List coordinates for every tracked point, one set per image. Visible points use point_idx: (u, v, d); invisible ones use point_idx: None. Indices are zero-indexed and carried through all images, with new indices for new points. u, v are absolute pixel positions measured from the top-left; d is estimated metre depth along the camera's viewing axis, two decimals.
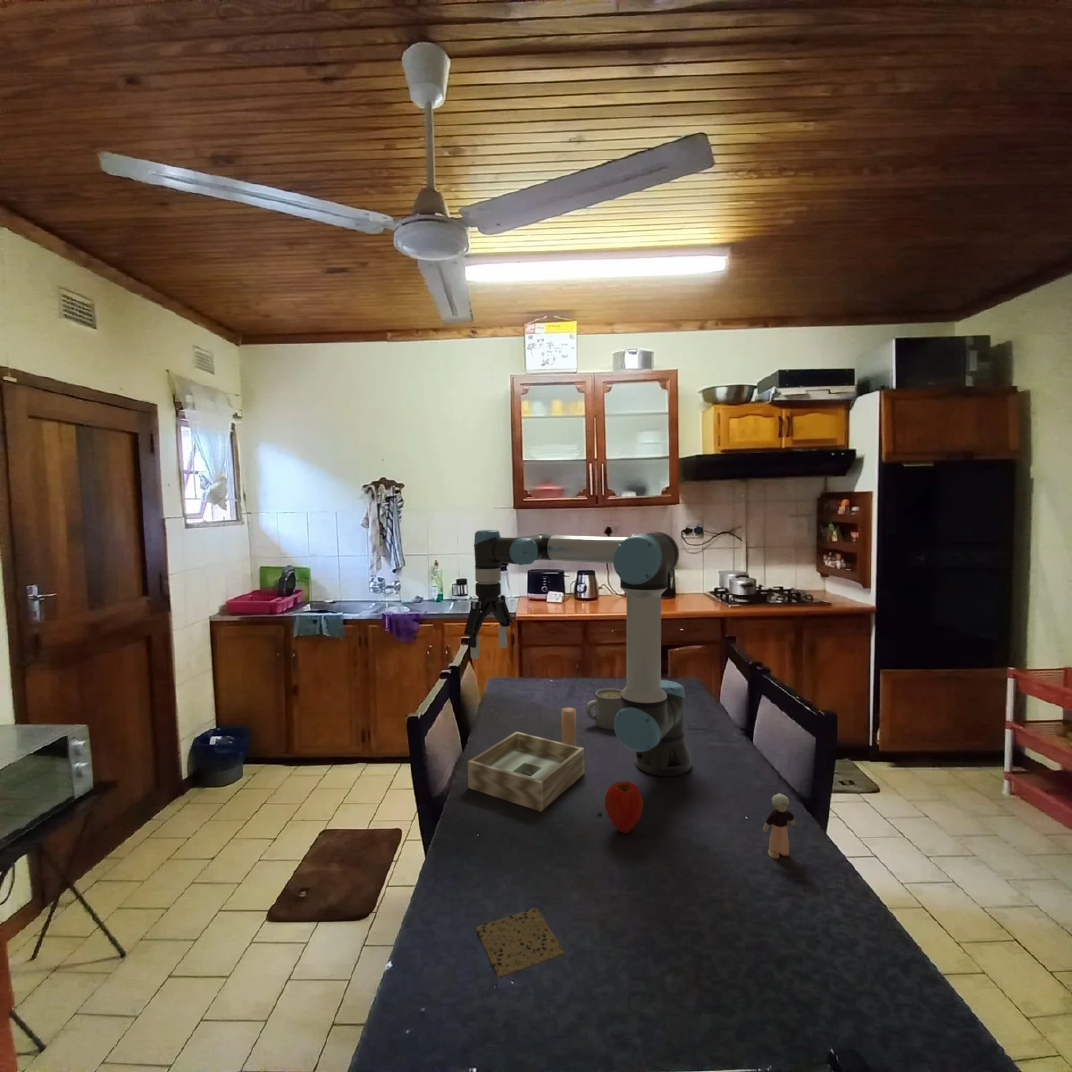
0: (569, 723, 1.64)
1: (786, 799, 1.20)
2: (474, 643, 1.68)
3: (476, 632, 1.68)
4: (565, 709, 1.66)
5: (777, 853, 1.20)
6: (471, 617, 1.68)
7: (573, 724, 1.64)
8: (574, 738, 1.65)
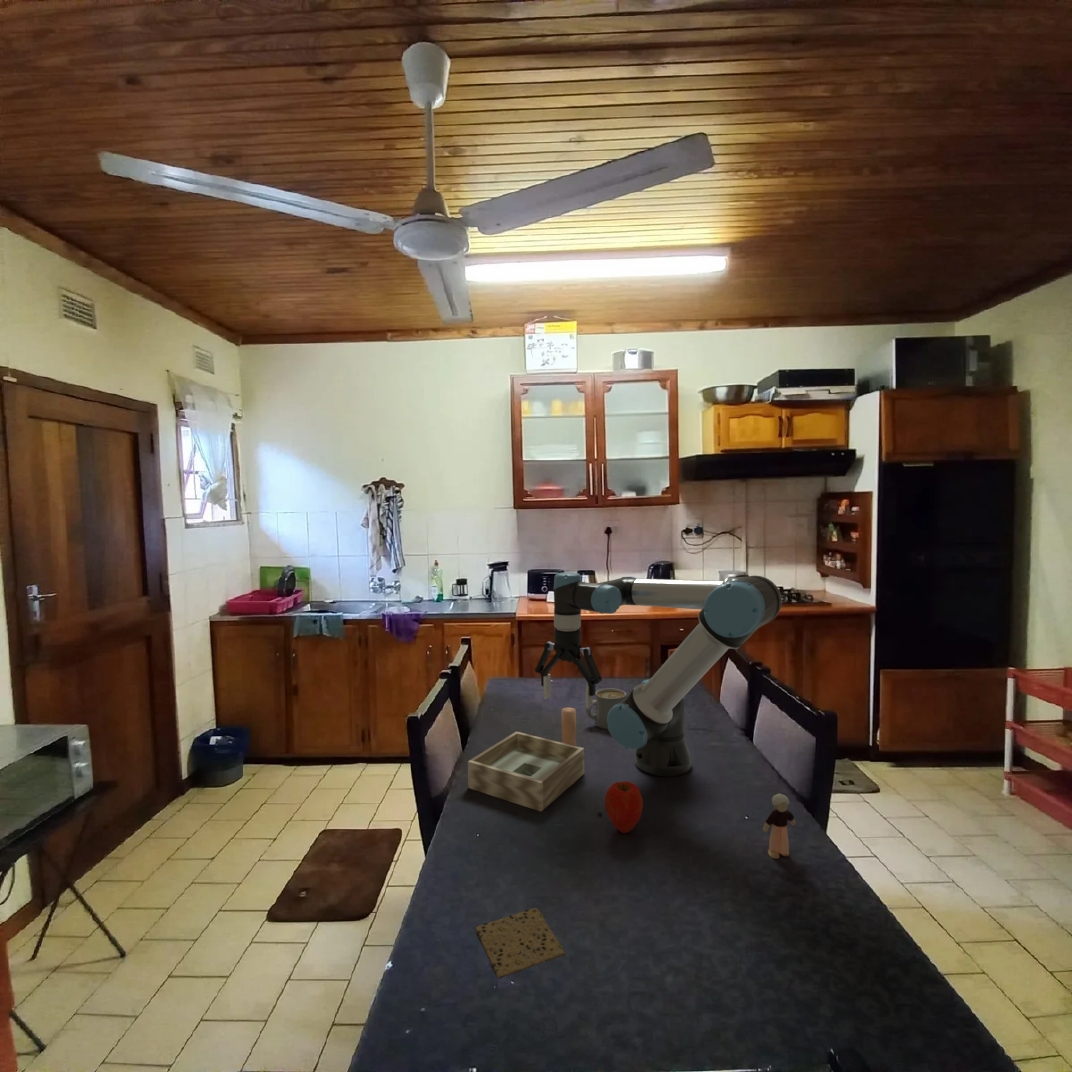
0: (569, 723, 1.64)
1: (786, 799, 1.20)
2: (542, 682, 1.69)
3: (543, 672, 1.68)
4: (565, 709, 1.66)
5: (777, 853, 1.20)
6: None
7: (573, 724, 1.64)
8: (574, 738, 1.65)
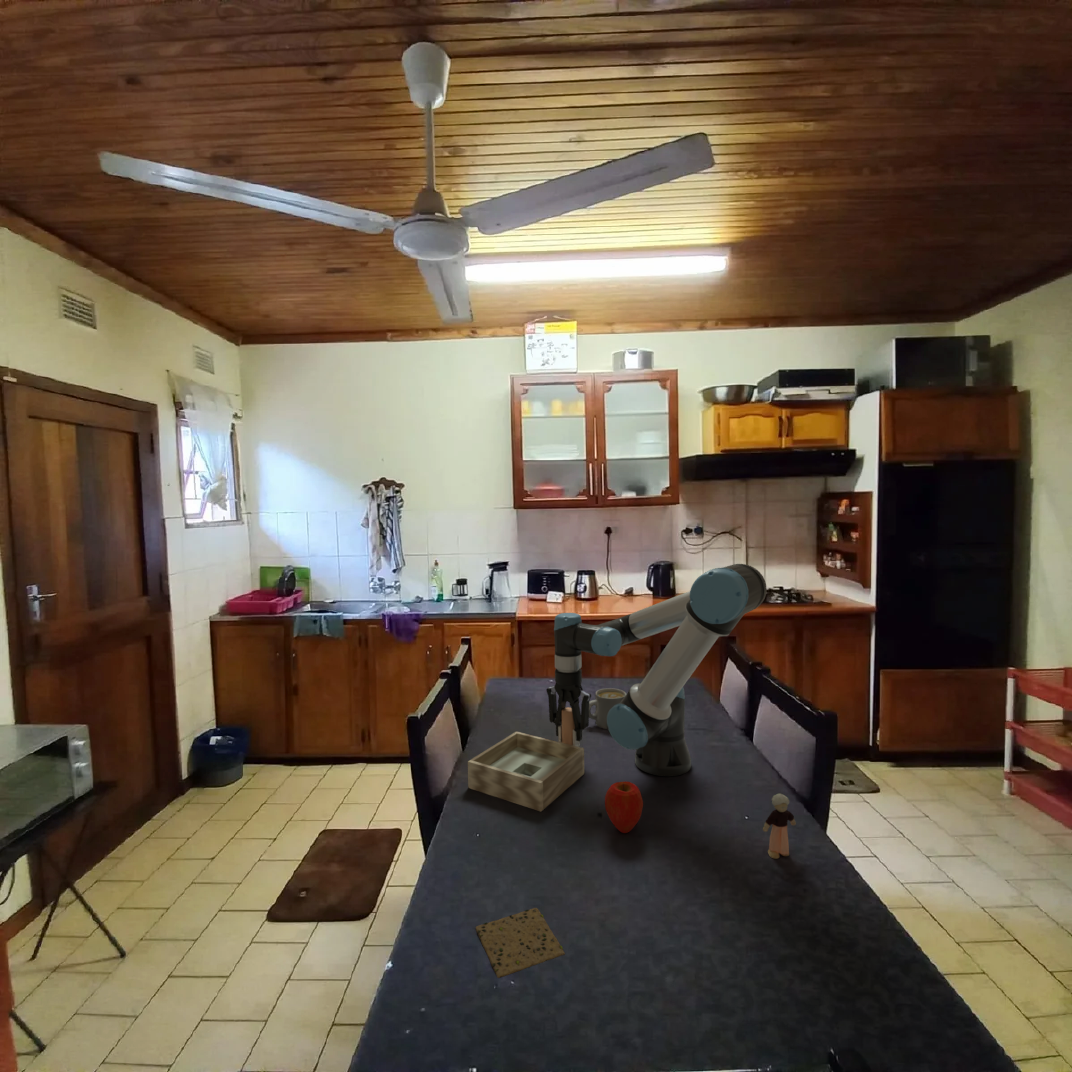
0: (569, 723, 1.64)
1: (786, 799, 1.20)
2: (557, 732, 1.67)
3: (556, 721, 1.67)
4: (565, 709, 1.66)
5: (777, 853, 1.20)
6: None
7: (573, 724, 1.64)
8: None
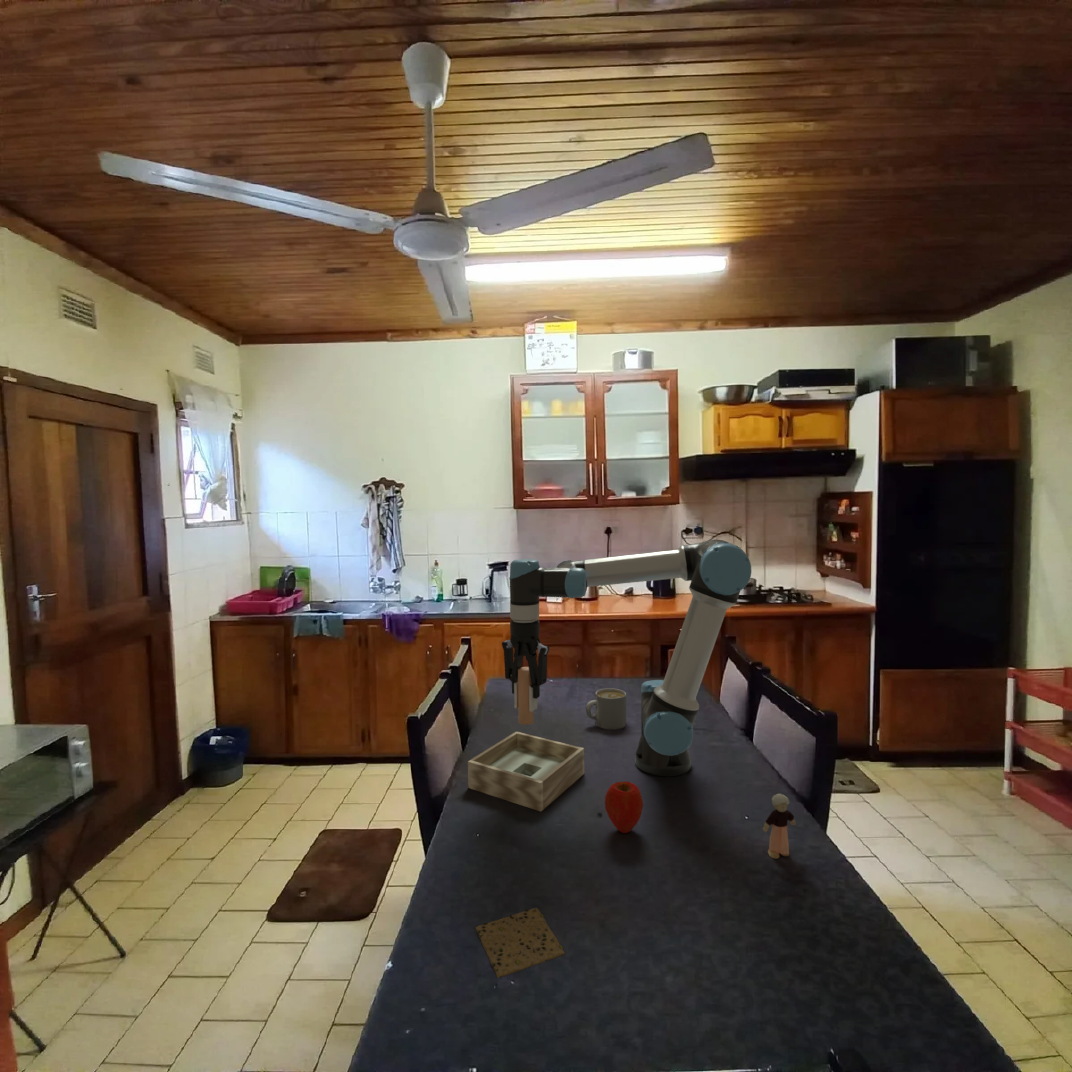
0: (526, 683, 1.50)
1: (786, 799, 1.20)
2: (513, 689, 1.53)
3: (512, 677, 1.53)
4: (521, 668, 1.52)
5: (777, 853, 1.20)
6: None
7: (530, 684, 1.51)
8: None
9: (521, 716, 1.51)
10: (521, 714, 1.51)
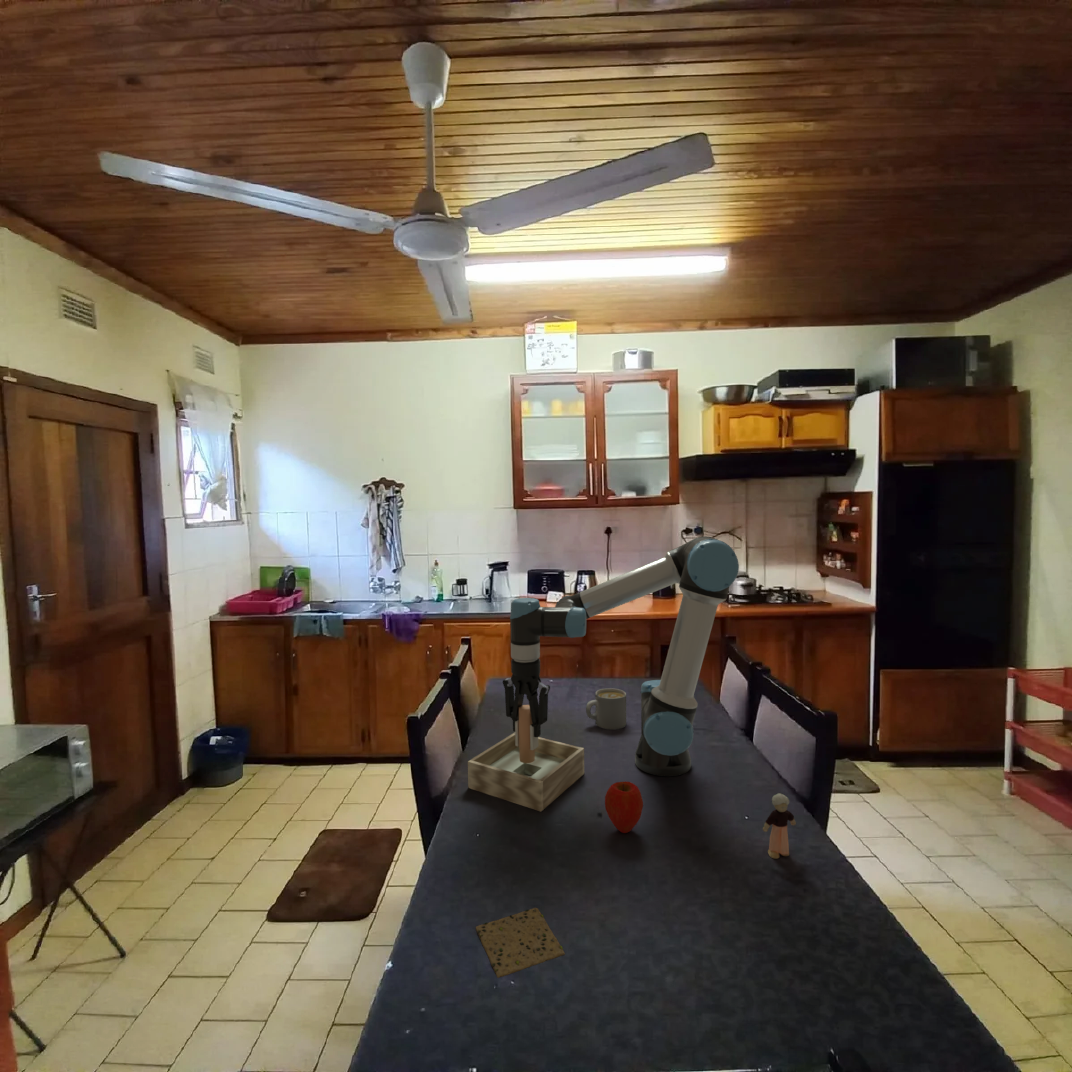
0: (527, 722, 1.51)
1: (786, 799, 1.20)
2: (514, 727, 1.54)
3: (513, 716, 1.53)
4: (522, 707, 1.53)
5: (777, 853, 1.20)
6: None
7: (531, 723, 1.51)
8: None
9: (522, 755, 1.52)
10: (522, 753, 1.52)
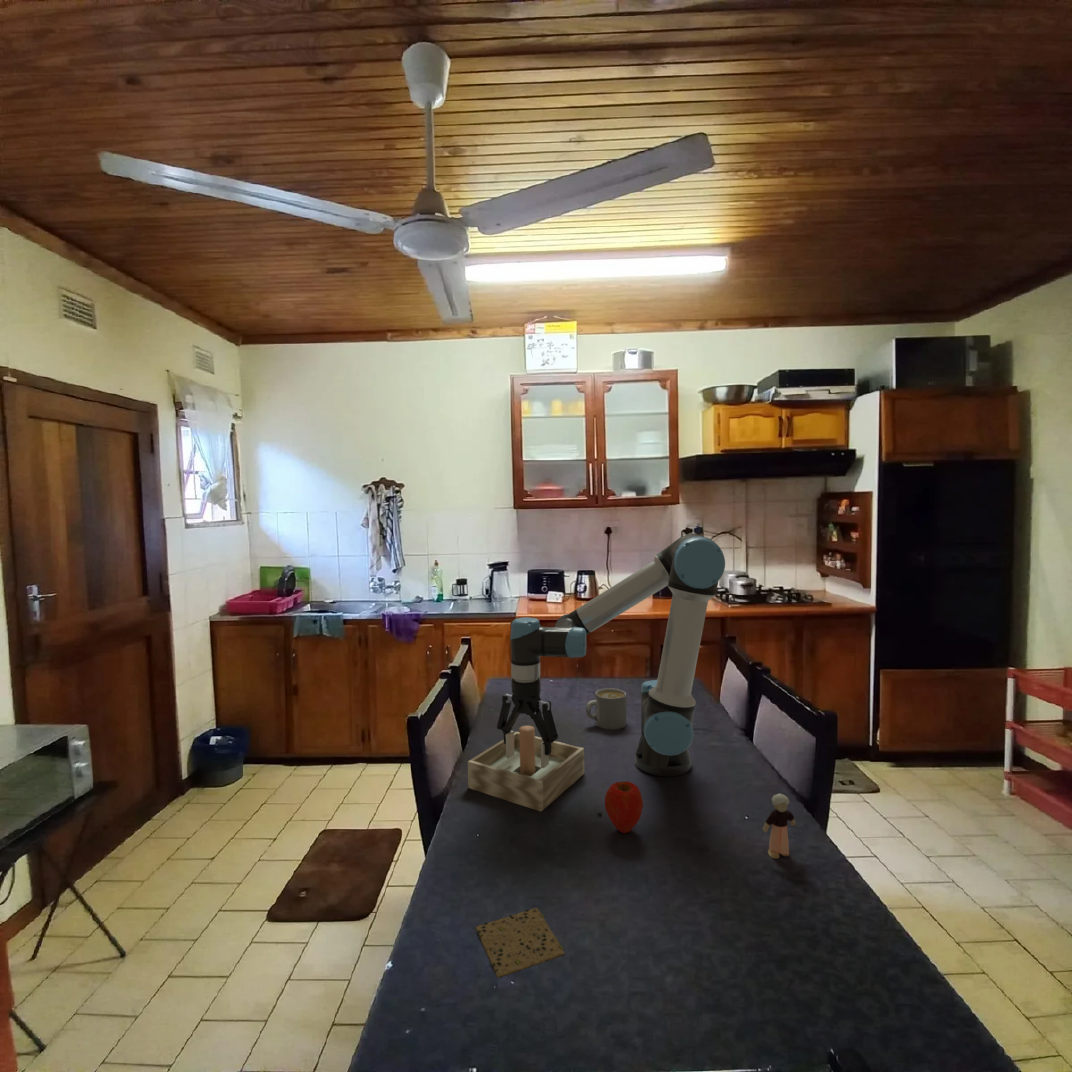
0: (527, 743, 1.51)
1: (786, 799, 1.20)
2: (505, 739, 1.56)
3: (505, 728, 1.55)
4: (523, 728, 1.53)
5: (777, 853, 1.20)
6: None
7: (532, 744, 1.52)
8: (532, 759, 1.52)
9: None
10: None
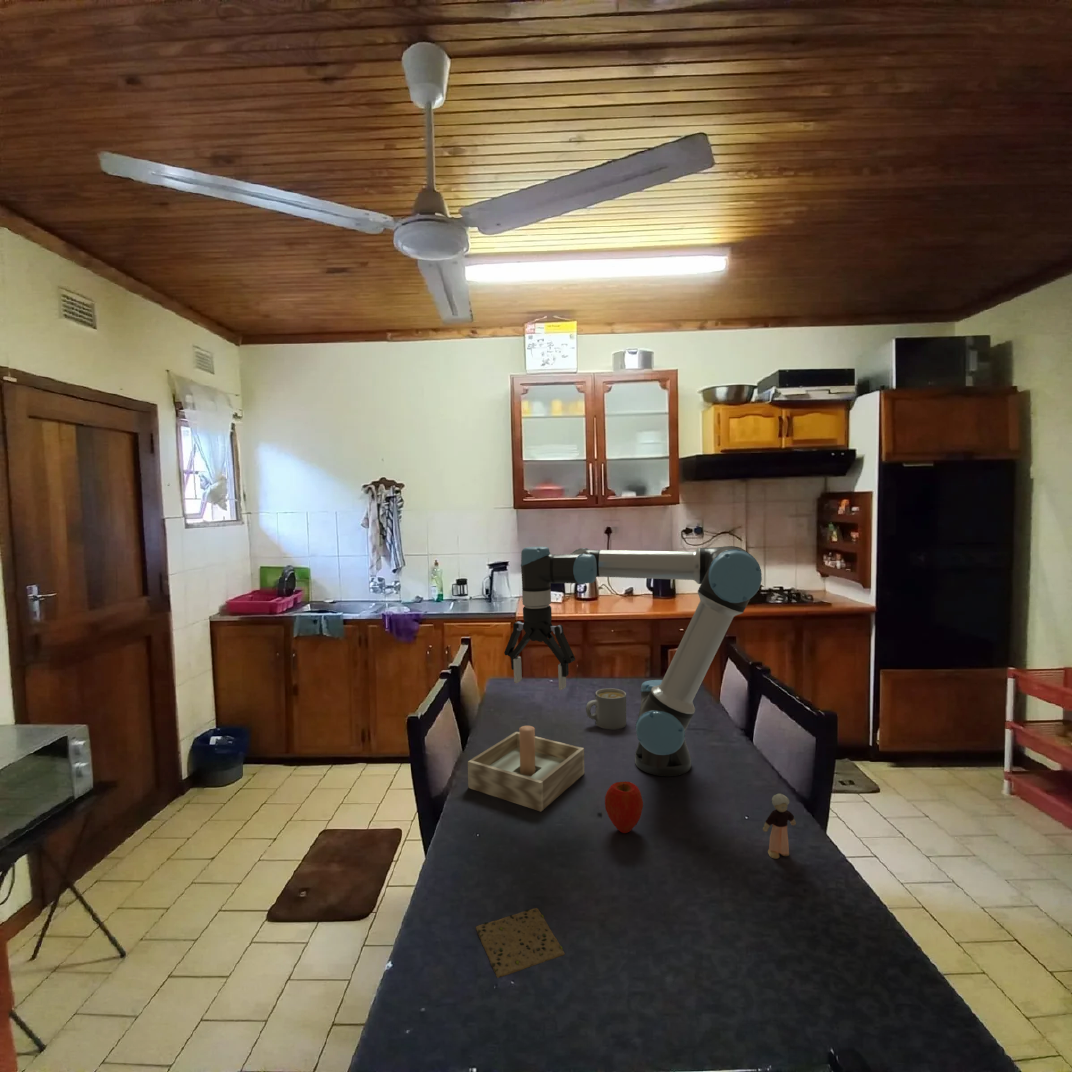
0: (527, 743, 1.51)
1: (786, 799, 1.20)
2: (512, 665, 1.58)
3: (512, 654, 1.57)
4: (523, 728, 1.53)
5: (777, 853, 1.20)
6: None
7: (532, 744, 1.52)
8: (532, 759, 1.52)
9: None
10: None
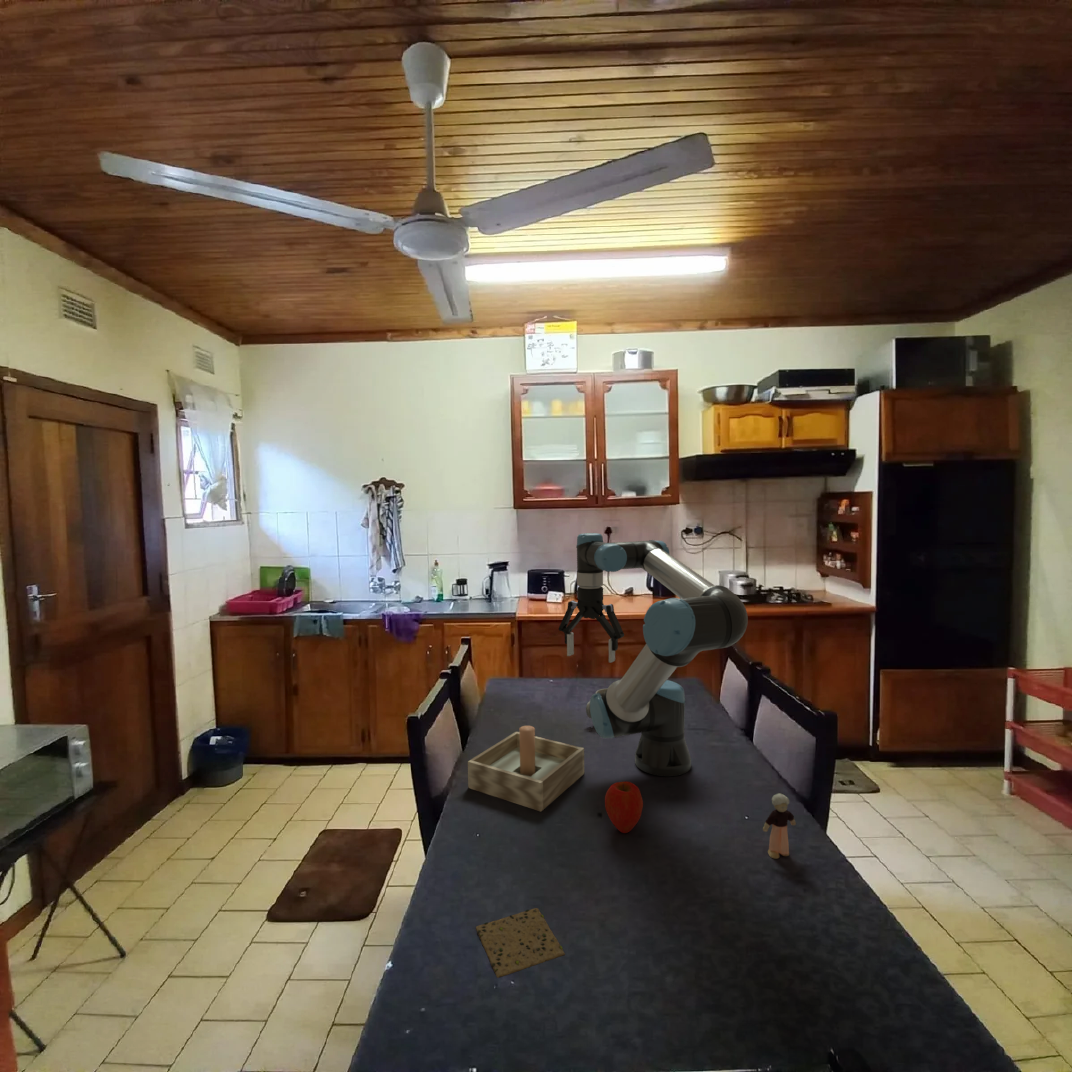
0: (527, 743, 1.51)
1: (786, 799, 1.20)
2: (566, 639, 1.75)
3: (566, 630, 1.75)
4: (523, 728, 1.53)
5: (777, 853, 1.20)
6: None
7: (532, 744, 1.52)
8: (532, 759, 1.52)
9: None
10: None
